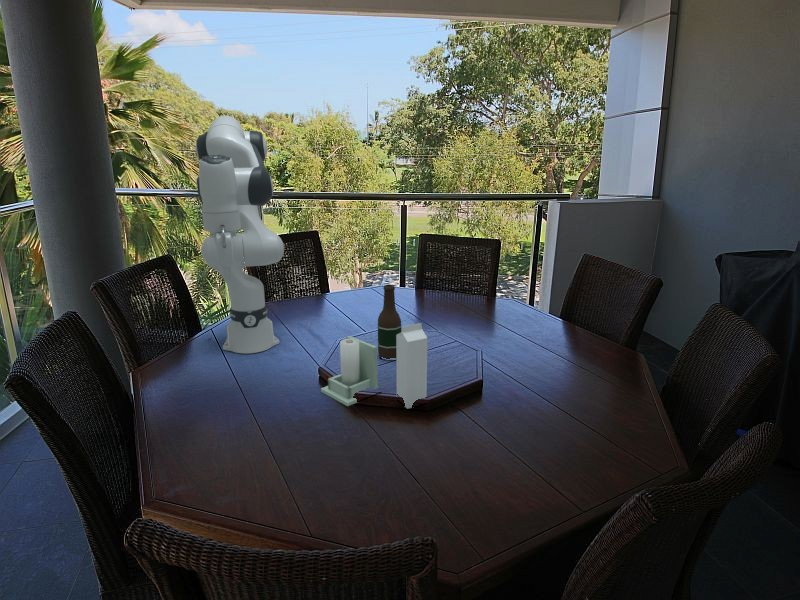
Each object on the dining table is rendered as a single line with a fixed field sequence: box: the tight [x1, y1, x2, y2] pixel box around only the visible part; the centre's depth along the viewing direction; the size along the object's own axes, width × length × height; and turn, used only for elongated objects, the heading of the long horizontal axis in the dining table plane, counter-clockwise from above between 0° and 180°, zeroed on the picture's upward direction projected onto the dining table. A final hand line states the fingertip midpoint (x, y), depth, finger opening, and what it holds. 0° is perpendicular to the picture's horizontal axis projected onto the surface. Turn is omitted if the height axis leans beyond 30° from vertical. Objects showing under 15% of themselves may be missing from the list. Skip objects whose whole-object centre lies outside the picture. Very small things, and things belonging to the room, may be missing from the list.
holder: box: [320, 335, 379, 407], centre depth 149 cm, size 12×12×14 cm
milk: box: [395, 322, 428, 410], centre depth 142 cm, size 6×6×22 cm
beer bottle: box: [377, 284, 402, 359], centre depth 172 cm, size 8×8×24 cm
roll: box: [339, 338, 360, 387], centre depth 148 cm, size 5×5×14 cm
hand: (227, 276), depth 138 cm, fingers open, 8 cm apart
